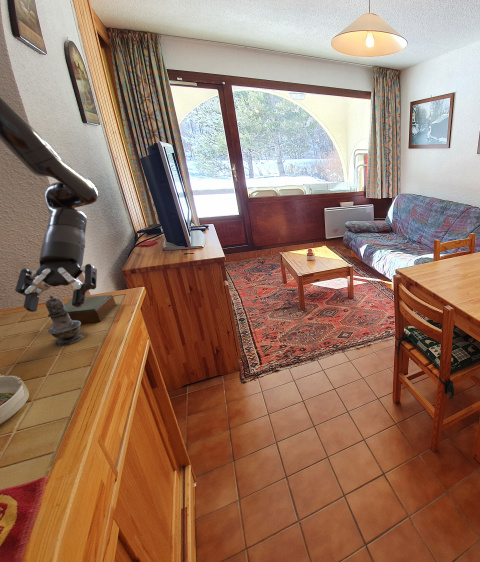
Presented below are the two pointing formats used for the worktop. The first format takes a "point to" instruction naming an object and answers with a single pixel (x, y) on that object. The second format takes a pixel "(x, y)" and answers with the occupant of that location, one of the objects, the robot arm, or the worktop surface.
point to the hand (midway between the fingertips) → (54, 308)
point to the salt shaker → (62, 323)
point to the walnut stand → (91, 308)
